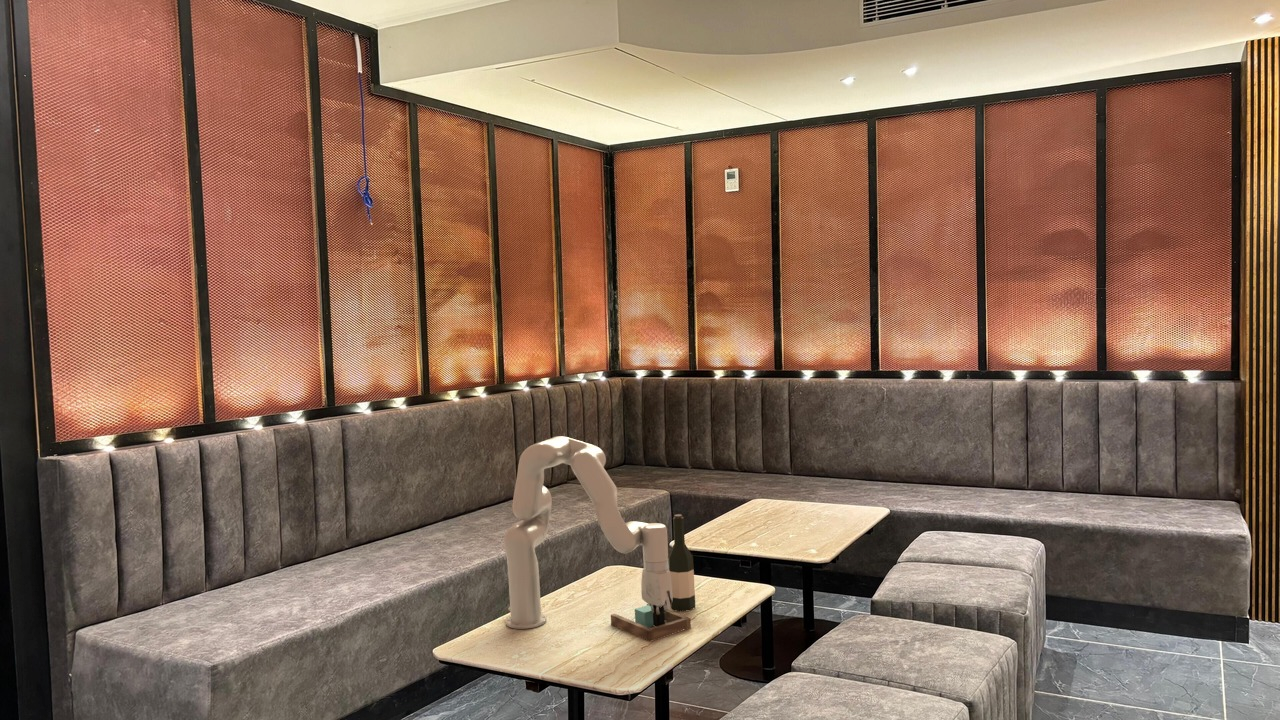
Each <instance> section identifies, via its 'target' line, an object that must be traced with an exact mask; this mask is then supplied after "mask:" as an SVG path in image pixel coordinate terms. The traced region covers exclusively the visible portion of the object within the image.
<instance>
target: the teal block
mask: <svg viewBox="0 0 1280 720" xmlns="http://www.w3.org/2000/svg"><path fill="white" fill-rule="evenodd" d="M634 622H636V623H638V624H641V625H643V626H646V627H648V628H649V627H650V628H653V627H655V626H654V625H653V613H652V611H651V606H649V605H647V604H646V605H644V606H643V605H642V606H640V607H636V608H634ZM652 626H653V627H652Z"/></svg>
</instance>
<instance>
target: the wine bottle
mask: <svg viewBox="0 0 1280 720" xmlns="http://www.w3.org/2000/svg"><path fill="white" fill-rule="evenodd" d="M672 520H673V521H672V522H673V541H674V544H673V545H672V547H671V548H670V550H669V551H668V560H669V570H668V571H669V572H670V577H671V584H672V594H673V600H672V603H671V604H670V606H671V609H670V610H671V611H675V610H677V611H676V612H680V611H681V612H687V611H686V610H690V611H692V610H694V609H695V608H696V591H695V588H696V587H695V571H694V568H695V567H694V556H693V553H691V551H690V549H689V548H688V546H687V545H686V541H685V521H684V520H685V519H684V516H683V515H682V514H679V513H678V514H674V517H673V518H672ZM693 608H694V609H693Z"/></svg>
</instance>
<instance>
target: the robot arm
mask: <svg viewBox="0 0 1280 720" xmlns="http://www.w3.org/2000/svg"><path fill="white" fill-rule="evenodd" d="M519 457H520V458H519V460H518V467H517V474H516V480H515V485H514V492H513V497H512V498H513V499H512V506H511V507H512V513H513V515H514V516H515V518H517V519H518V520H520V521H518V522H516V523H515V524H513V525H511V526H510V527H509V528H508V529H507V531H506V532H505V534H504V537H503V547H504V552H505V557H506V562H507V564H506V565H507V575H508V577H507V578H508V590H509V591H508V593H509V606H508V608H507V609H508V611H509V612H510V616H509V617H507V619H506V620H505V625H506V626H507V627H509V628H511V629H517V630H525V629H527V630H528V629H534V628H537V627H540V626H542V625H544V624H545V623H546V622H547V616H546V614H544V613H542V607H541V587H540V574H539V573H540V571H539V561H538V558H537V554H536V551H535V550H536V547H538V546H539V545H541V544H542V543H543V542H544V541H545V539H546V538H547V536H548V531H549V526H550V518H551V511H552V504H553V499H552V495H551V492H550V490H549V489H548V488H547V487H546V486H545V485H544V483H545V482H544V481H545V469H550V468H553V467H556V466H559V465H561V464H565V465H567V466H568V465H569V466H570V467H571V471H572V472H573V474H574V476H575V477H576V479H577V481H579V483H580V484H581V486H582V487H583V489H584V491H585V492H586V494H587V496H588V497H589V498H590V499H589V500H590V501H591V502H592V504H593V507H594V511H595V515H596V518H597V521H598V525H599V527H600V528H601V531H602V533H603V534H604V536H605V538H606V539H607V540H608V542H609V543H610V545H611V546H612V547H613V548H614V549H615V551H617V552H618V553H621V554H629V553H631V552H633V551H634V550H635V549H636V548H637V547H640V546H642V559H643V561H642V562H643V568H642V572H641V583H640V584H641V589H640V590H641V592H640V593H641V599H642V600H643V601H644V602H645V603H646V604H649V605H650V606H651V611H652V613H653V625H654V626H653V627H657V626H660V625H663V624H666V621H665V614H664V613H665V612H666V610H672V609H671V606H670V604H671V603H672V600H673V594H672V584H671V577H670V572H669V571H668V570H669V560H668V554H669V545H668V544H669V542H668V541H669V540H668V528H667V526H666V525H665V524H664V523H660V522H659V523H658V522H651V523H650V522H649V523H647V522H643V521H642V522H641V521H635V520H633V521H628V522H625V521H624V518H623V517H622V515H621V513H620V510H619V506H618V505H619V504H618V488H617V486H616V484H615V482H614V481H613V480H612V478H611V477H610V474H608V472H607V471H606V469H605V465H606V463H607V461H606V460H607V458H606V454H605V452H604V451H603V449H601V448H600V447H598V446H597V445H595V444H591V443H588V442H584V441H581V440H577V439H574V438H571V437H568V436H561V435H560V436H559V435H558V436H553V437H551V438H548V439H545V440H543V441H539V442H536V443H534V444H532V445H529V446H527V447H526V449H524V450H523V451H522V453H521V455H520V456H519Z"/></svg>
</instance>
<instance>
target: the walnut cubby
mask: <svg viewBox="0 0 1280 720" xmlns="http://www.w3.org/2000/svg"><path fill="white" fill-rule="evenodd" d="M646 605H649V604H648V603H646ZM649 606H650V605H649ZM664 614H665V620H666V621H665V624H663V625H660V626H657V627H656V626H653V627H650V628H648V627H646V626H643V625H641V624H638V623H636V622H635V620H631V619H628V618H626V617H624V616H623V615H622V616H621V615H619V614H616V613H611V614H610V624H611V626H614V627H616V628H619V629H621V630H623V631H625V632H627V633H630V634H633V635H635V636H637V637H639V638H642V639H644V640H646V641H649V642H653V641H655V639H656V640H658V638H659V639H662V638H664V636H665V637H667V635H668V636H670V634H671V635H673V634H672V633H674V634H676V633H675V632H677V633H679V632H678V631H680V632H682V631H681V630H683V629H686V630H688V629H687V628H689V629H691V628H692V625H691V623H692V622H691V617H688V616H687V615H683V614H681V613H678V612H677V611H674V610H671V609H669V610H666V612H665V613H664ZM666 622H667V623H666ZM690 627H691V628H690ZM683 631H684V630H683ZM661 637H662V638H661Z"/></svg>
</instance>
